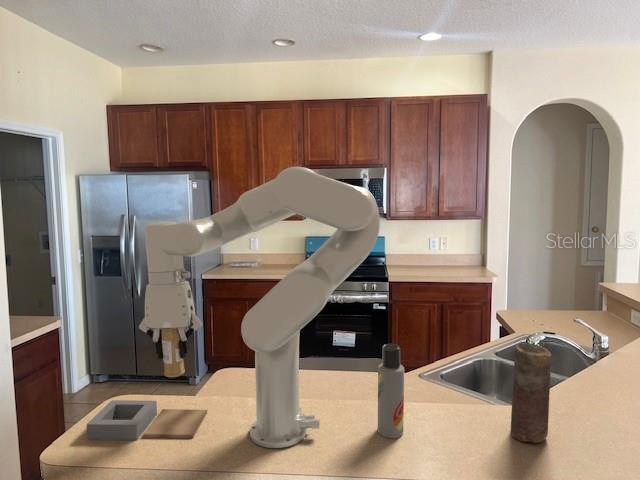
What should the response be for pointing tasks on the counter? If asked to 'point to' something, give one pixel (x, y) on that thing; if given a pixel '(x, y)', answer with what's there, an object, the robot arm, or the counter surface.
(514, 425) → the candle
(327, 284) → the robot arm
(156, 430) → the coaster board
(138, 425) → the grey square tray
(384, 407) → the lotion bottle
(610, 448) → the counter surface
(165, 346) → the sprinkles bottle
